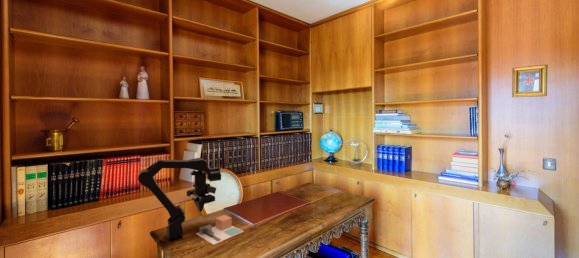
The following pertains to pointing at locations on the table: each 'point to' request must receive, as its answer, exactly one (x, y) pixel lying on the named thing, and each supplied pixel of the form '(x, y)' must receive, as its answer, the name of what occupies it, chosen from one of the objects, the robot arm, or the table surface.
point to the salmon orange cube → (223, 222)
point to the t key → (206, 230)
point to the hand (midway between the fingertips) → (200, 211)
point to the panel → (220, 234)
